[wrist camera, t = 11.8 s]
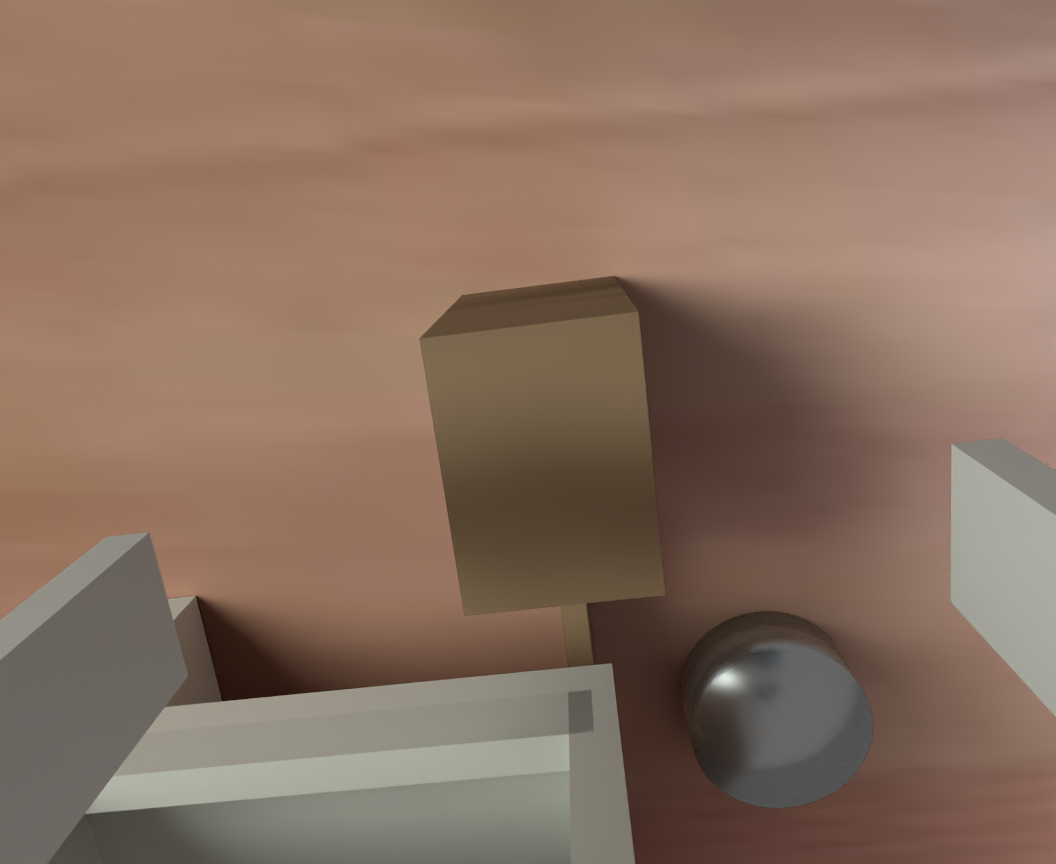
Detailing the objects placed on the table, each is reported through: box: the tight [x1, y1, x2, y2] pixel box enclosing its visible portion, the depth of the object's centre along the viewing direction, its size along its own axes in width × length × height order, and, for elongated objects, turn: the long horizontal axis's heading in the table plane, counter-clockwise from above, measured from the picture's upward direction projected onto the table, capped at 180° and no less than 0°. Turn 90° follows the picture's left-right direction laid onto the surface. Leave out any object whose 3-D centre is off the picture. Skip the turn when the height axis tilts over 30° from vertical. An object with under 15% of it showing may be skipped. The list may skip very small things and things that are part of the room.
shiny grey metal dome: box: [681, 611, 873, 808], centre depth 30 cm, size 6×6×3 cm
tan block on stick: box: [420, 276, 666, 668], centre depth 26 cm, size 19×5×9 cm, turn 7°
